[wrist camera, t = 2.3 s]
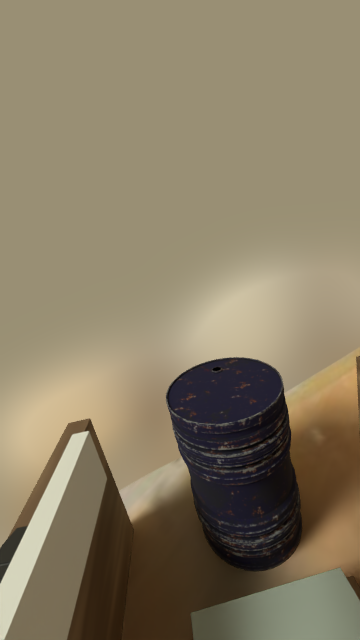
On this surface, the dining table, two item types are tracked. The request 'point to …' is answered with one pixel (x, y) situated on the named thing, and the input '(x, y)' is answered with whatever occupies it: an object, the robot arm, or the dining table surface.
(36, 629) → the robot arm
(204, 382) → the dark blue cylinder
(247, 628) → the grey offcut plank
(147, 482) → the dining table surface
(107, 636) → the wooden bookend pair
